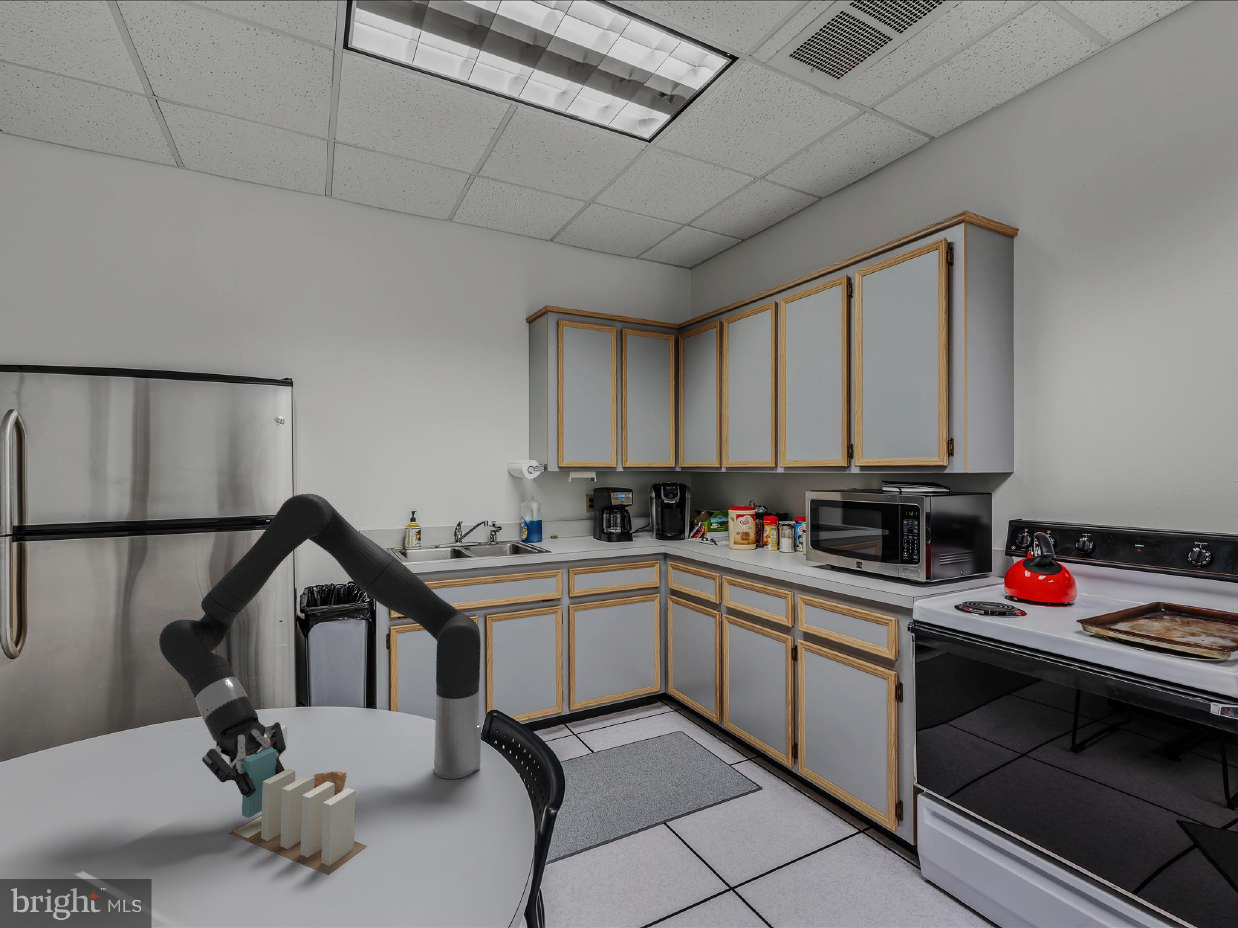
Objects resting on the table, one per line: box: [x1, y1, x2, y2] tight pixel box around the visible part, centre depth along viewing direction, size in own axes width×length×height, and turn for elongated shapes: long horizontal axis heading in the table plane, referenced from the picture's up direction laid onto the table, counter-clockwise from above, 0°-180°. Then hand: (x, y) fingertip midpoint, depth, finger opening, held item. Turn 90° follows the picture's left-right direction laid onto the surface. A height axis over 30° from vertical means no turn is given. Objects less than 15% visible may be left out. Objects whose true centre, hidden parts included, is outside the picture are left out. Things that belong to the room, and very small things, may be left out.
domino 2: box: [280, 774, 315, 849], centre depth 103 cm, size 2×5×10 cm, turn 156°
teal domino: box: [241, 748, 277, 819], centre depth 107 cm, size 2×5×10 cm, turn 156°
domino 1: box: [261, 768, 296, 841], centre depth 105 cm, size 2×5×10 cm, turn 156°
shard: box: [312, 770, 347, 796], centre depth 120 cm, size 11×8×2 cm
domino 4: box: [321, 787, 356, 866], centre depth 99 cm, size 2×5×10 cm, turn 156°
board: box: [228, 814, 368, 876], centre depth 103 cm, size 25×8×1 cm, turn 66°
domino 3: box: [301, 781, 335, 857], centre depth 101 cm, size 2×5×10 cm, turn 156°
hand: (266, 786), depth 106 cm, fingers closed on teal domino, 5 cm apart
